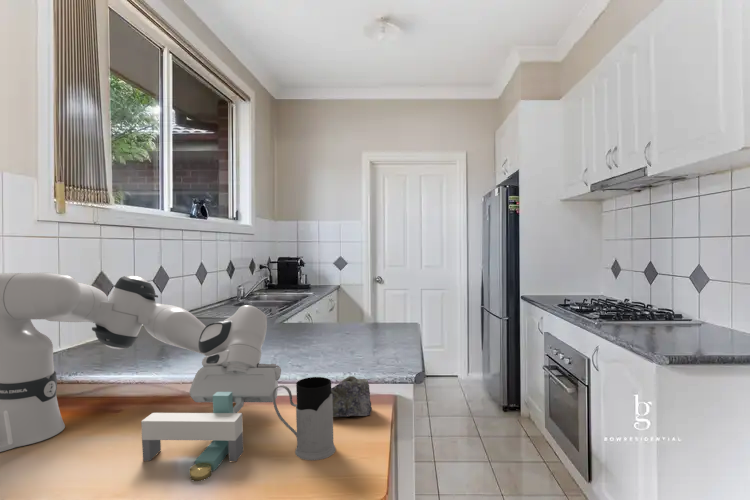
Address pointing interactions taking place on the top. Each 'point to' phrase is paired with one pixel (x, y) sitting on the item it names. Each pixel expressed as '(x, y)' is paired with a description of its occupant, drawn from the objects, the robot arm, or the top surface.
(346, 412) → the mineral rock
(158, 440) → the white bench
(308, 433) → the glass holder
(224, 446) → the block
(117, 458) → the top surface
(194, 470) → the token
